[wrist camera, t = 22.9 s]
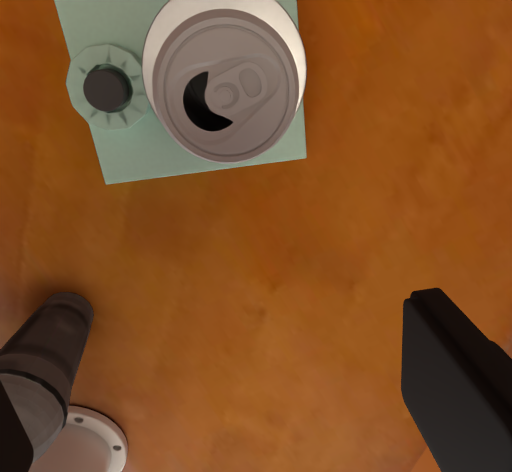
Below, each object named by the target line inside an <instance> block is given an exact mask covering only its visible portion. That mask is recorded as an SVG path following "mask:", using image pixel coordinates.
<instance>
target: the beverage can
mask: <svg viewBox="0 0 512 472" xmlns="http://www.w3.org/2000/svg"><path fill="white" fill-rule="evenodd" d="M152 89H153V100H154V104H155V108H156V111H157V114H158V116H159V119H160V121H161V123H162V125H163V126H164V128H165V129H166V131H167V132H168V134H169V135H170V136H171V137H172V139H173V140H174V141H175V142H176V143H177V144H178V145H179V146H181V147H182V148H183V149H185V150H186V151H187V152H189V153H191V154H192V155H194V156H196V157H198V158H201V159H203V160H206V161H210V162H215V163H222V164H233V163H240V162H245V161H248V160H251V159H254V158H256V157H258V156H260V155H262V154H263V153H265V152H266V151H268V150H269V149H271V148H272V147H273V146H274V145H275V144H276V143H277V142H278V141H279V140H280V139H281V138H282V137H283V135H284V134H285V133H286V131H287V129H288V128H289V126H290V124H291V122H292V120H293V117H294V115H295V112H296V108H297V104H298V98H299V78H298V71H297V67H296V64H295V61H294V58H293V55H292V53H291V51H290V49H289V47H288V46H287V44H286V43H285V41H284V40H283V38H282V37H281V36H280V35H279V33H278V32H277V31H276V30H275V29H274V28H272V27H271V26H270V25H269V24H268V23H266V22H265V21H263V20H262V19H260V18H258V17H256V16H254V15H252V14H250V13H247V12H244V11H240V10H235V9H213V10H208V11H204V12H201V13H198V14H196V15H194V16H192V17H190V18H188V19H186V20H185V21H184V22H182V23H181V24H180V25H178V26H177V27H176V28H175V29H174V30H173V31H172V32H171V33H170V34H169V36H168V37H167V38H166V40H165V41H164V43H163V45H162V46H161V48H160V50H159V53H158V55H157V58H156V61H155V65H154V69H153V75H152Z"/></svg>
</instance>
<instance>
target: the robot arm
mask: <svg viewBox="0 0 512 472" xmlns="http://www.w3.org/2000/svg"><path fill="white" fill-rule="evenodd" d="M401 391H402V396H403V399H404V402H405V404H406V406H407V408H408V410H409V412H410V414H411V416H412V417H413V419H414V421H415V423H416V425H417V427H418V429H419V431H420V432H421V434H422V436H423V438H424V440H425V442H426V444H427V446H428V447H429V449H430V451H431V453H432V455H433V457H434V459H435V460H436V462H437V464H438V466H439V468H440V470H441V472H512V359H511V358H510V357H509V356H508V355H507V354H506V353H505V351H504V350H503V349H502V348H501V347H500V346H498V345H497V344H496V343H495V342H493V341H490V340H488V338H487V337H486V336H485V335H484V334H483V333H482V332H481V331H480V330H479V329H478V328H477V327H476V326H475V325H474V324H473V323H472V322H471V321H470V319H469V318H468V317H467V316H466V315H465V314H464V313H463V312H462V311H461V310H460V309H459V308H458V307H457V306H456V305H455V304H454V303H453V302H452V300H451V299H450V298H449V297H448V296H447V295H446V294H445V293H444V292H443V291H442V290H441V289H439V288H432V289H425V290H419V291H413V292H412V293H411V296H410V298H409V299H405V300H404V304H403V338H402V375H401ZM127 454H128V445H127V441H126V438H125V436H124V434H123V432H122V431H121V429H120V428H119V427H118V426H117V425H116V424H115V423H114V422H112V421H111V420H110V419H108V418H107V417H105V416H103V415H102V414H100V413H98V412H95V411H92V410H90V409H87V408H82V407H77V406H69V407H68V416H67V420H66V425H65V426H64V428H63V429H62V430H61V432H60V433H59V434H58V436H57V438H56V439H55V440H54V442H53V443H52V444H51V446H50V447H49V448H48V450H47V451H46V452H45V453H44V454H43V455H42V456H41V457H40V458H39V459H38V460H36V461H35V462H34V463H32V462H33V457H34V450H33V446H32V444H31V442H30V440H29V438H28V436H27V433H26V431H25V429H24V427H23V425H22V423H21V421H20V419H19V417H18V415H17V413H16V411H15V409H14V407H13V405H12V403H11V401H10V399H9V397H8V395H7V393H6V391H5V389H4V386H3V384H2V382H1V380H0V472H121V471H122V470H123V468H124V465H125V463H126V458H127Z"/></svg>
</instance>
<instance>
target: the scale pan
mask: <svg viewBox="0 0 512 472" xmlns="http://www.w3.org/2000/svg"><path fill="white" fill-rule="evenodd" d="M213 9H235V10H240V11H244V12H247V13H250V14H252V15H254V16H256V17H258V18H260V19H262V20H263V21H265V22H266V23H268V24H269V25H270V26H271V27H272V28H274V29H275V30H276V31H277V32H278V33H279V35H280V36H281V37H282V38H283V40H284V41H285V43H286V44H287V46H288V47H289V49H290V51H291V53H292V55H293V58H294V61H295V64H296V67H297V71H298V78H299V98H298V104H297V108H296V112H295V114H296V113H297V111H298V109H299V106H300V104H301V101H302V99H303V95H304V91H305V86H306V78H307V62H306V54H305V49H304V45H303V41H302V39H301V36H300V33H299V31H298V29H297V27H296V25H295V23H294V21H293V20H292V18H291V17H290V15H289V14H288V13H287V11H286V10H285V9H284V8H283V7H282V6H281V5H280V3H279V2H278V1H276V0H169V1H168V2H167V3H166V4H165V5H164V6H163V7H162V8H161V9H160V11H159V12H158V14H157V15H156V16H155V18H154V20H153V22H152V24H151V25H150V27H149V30H148V33H147V35H146V38H145V42H144V46H143V52H142V78H143V85H144V89H145V92H146V96H147V98H148V101H149V103H150V106H151V108H152V110H153V111H154V113H155V115H156V117H157V118H158V119H159V116H158V114H157V111H156V108H155V104H154V100H153V89H152V75H153V69H154V65H155V61H156V58H157V55H158V53H159V50H160V48H161V46H162V45H163V43H164V41H165V40H166V38H167V37H168V36H169V34H170V33H171V32H172V31H173V30H174V29H175V28H176V27H177V26H178V25H180V24H181V23H182V22H184V21H185V20H186V19H188V18H190V17H192V16H194V15H196V14H198V13H201V12H204V11H208V10H213ZM294 116H295V115H294ZM293 118H294V117H293ZM159 121H160V119H159ZM160 122H161V121H160Z"/></svg>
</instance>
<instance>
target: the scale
mask: <svg viewBox="0 0 512 472" xmlns="http://www.w3.org/2000/svg"><path fill="white" fill-rule="evenodd" d="M54 1H55V5H56V8H57V12H58V16H59V19H60V23H61V26H62V30H63V33H64V37H65V41H66V44H67V48H68V51H69V55H70V59H71V62H70V66H69V70H68V74H67V78H66V86H67V90H68V93H69V97H70V100H71V104H72V106H73V107H74V108H75V109H76V110H77V111H78V113H79V114H80V115H81V116H82V117H83V118H84V119H85V120H86V121H87V122H88V123H89V127H90V130H91V134H92V137H93V141H94V145H95V148H96V152H97V155H98V159H99V163H100V166H101V170H102V173H103V177H104V180H105V184H114V183H121V182H129V181H136V180H144V179H152V178H159V177H167V176H174V175H182V174H189V173H197V172H205V171H212V170H220V169H227V168H235V167H242V166H250V165H258V164H265V163H273V162H280V161H288V160H295V159H303V158H306V157H307V155H306V139H305V124H304V108H303V99H302V101H301V104H300V106H299V109H298V111H297V113H296V114H295V116H294V118H293V120H292V122H291V124H290V126H289V128H288V129H287V131H286V133H285V134H284V135H283V137H282V138H281V139H280V140H279V141H278V142H277V143H276V144H275V145H274V146H273V147H272V148H271V149H269V150H268V151H266V152H265V153H263V154H262V155H260V156H258V157H256V158H254V159H251V160H248V161H245V162H240V163H233V164H222V163H215V162H210V161H206V160H203V159H201V158H198V157H196V156H194V155H192V154H191V153H189V152H187V151H186V150H185V149H183V148H182V147H181V146H179V145H178V144H177V143H176V142H175V141H174V140H173V139H172V137H171V136H170V135H169V134H168V132H167V131H166V129H165V128H164V126H163V125H162V123H161V122H160V121H159V119H158V118H157V117H156V115H155V113H154V111H153V110H152V108H151V106H150V103H149V101H148V98H147V96H146V92H145V89H144V85H143V78H142V52H143V46H144V42H145V38H146V35H147V33H148V30H149V27H150V25H151V24H152V22H153V20H154V18H155V16H156V15H157V14H158V12H159V11H160V9H161V8H162V7H163V6H164V5H165V4H166V3H167V2H168V1H169V0H54ZM276 1H278V2H279V3H280V5H281V6H282V7H283V8H284V9H285V10H286V11H287V13H288V14H289V15H290V17H291V18H292V20H293V21H294V23H295V25H296V27H297V29H298V13H297V0H276ZM298 31H299V29H298ZM105 68H109V69H113V70H116V71H118V72H119V73H121V74H122V75H123V76H124V78H125V79H126V81H127V83H128V86H129V96H128V99H127V101H126V102H125V103H124V104H123V105H122V106H120V107H119V108H117V109H115V110H113V111H109V112H105V111H100V110H98V109H96V108H94V107H93V106H91V105H90V104H89V102H88V101H87V99H86V98H85V95H84V91H83V84H84V80H85V78H86V77H87V75H88V74H90V73H91V72H93V71H95V70H99V69H105Z"/></svg>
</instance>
